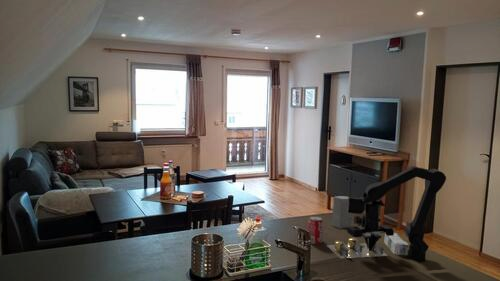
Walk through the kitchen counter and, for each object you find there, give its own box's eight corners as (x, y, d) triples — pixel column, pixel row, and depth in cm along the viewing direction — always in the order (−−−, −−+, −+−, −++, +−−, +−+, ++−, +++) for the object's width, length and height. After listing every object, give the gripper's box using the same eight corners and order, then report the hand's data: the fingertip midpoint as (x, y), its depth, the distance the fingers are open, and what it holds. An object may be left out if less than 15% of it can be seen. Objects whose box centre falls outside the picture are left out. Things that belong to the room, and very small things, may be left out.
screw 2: (365, 246, 164) (366, 238, 163) (374, 246, 165) (374, 238, 164) (377, 255, 155) (377, 246, 155) (385, 254, 156) (386, 246, 155)
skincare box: (340, 229, 190) (342, 199, 188) (330, 225, 196) (332, 196, 194) (352, 227, 194) (354, 197, 192) (342, 223, 200) (344, 194, 198)
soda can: (321, 240, 172) (322, 216, 171) (322, 246, 165) (324, 220, 164) (306, 239, 173) (307, 215, 172) (306, 245, 166) (308, 219, 165)
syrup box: (395, 244, 171) (408, 257, 157) (383, 244, 171) (394, 256, 157) (396, 232, 171) (409, 244, 156) (384, 232, 171) (395, 244, 156)
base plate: (388, 257, 156) (388, 254, 156) (340, 260, 151) (340, 257, 151) (370, 245, 169) (370, 242, 169) (326, 247, 165) (326, 244, 165)
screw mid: (346, 245, 165) (346, 237, 165) (354, 244, 166) (355, 236, 166) (356, 253, 156) (357, 244, 156) (364, 252, 157) (365, 244, 157)
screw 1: (332, 248, 160) (333, 240, 160) (341, 248, 161) (341, 239, 161) (342, 257, 151) (342, 248, 151) (351, 256, 152) (351, 248, 152)
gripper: (381, 208, 165) (378, 242, 166) (342, 209, 161) (340, 244, 162) (396, 216, 154) (393, 252, 155) (355, 217, 150) (352, 254, 151)
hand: (369, 250), depth 156 cm, fingers closed
